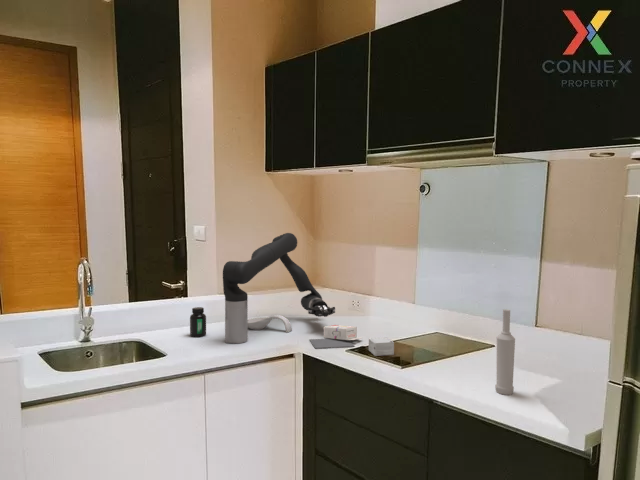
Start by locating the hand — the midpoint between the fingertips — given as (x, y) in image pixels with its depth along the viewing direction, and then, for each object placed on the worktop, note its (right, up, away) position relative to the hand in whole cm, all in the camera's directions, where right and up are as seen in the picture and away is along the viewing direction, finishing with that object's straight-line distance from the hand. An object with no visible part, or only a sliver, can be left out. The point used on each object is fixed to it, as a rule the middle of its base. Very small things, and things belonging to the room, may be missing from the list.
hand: (326, 314), depth 210 cm
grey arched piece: (-27, -10, +15) cm, 32 cm away
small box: (+21, -12, -22) cm, 32 cm away
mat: (+2, -11, -10) cm, 14 cm away
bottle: (+53, -14, -63) cm, 83 cm away
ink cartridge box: (+1, -7, +1) cm, 7 cm away
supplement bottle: (-56, -10, +2) cm, 56 cm away
